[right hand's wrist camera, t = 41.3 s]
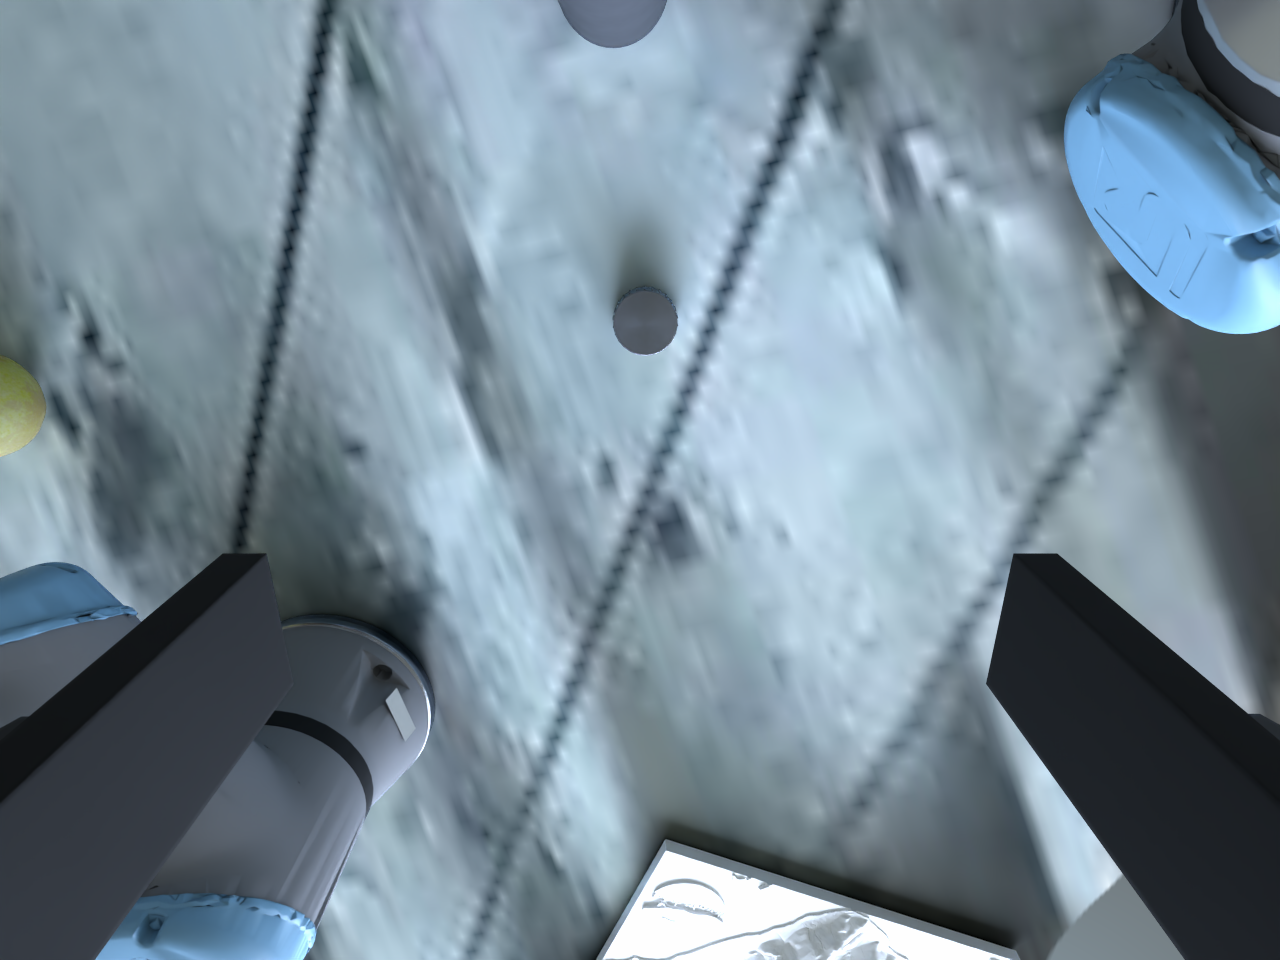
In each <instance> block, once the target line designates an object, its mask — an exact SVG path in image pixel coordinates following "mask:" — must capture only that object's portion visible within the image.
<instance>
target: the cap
mask: <svg viewBox="0 0 1280 960" xmlns="http://www.w3.org/2000/svg"><path fill="white" fill-rule="evenodd" d="M675 311H676V308H675V306H673V304H672V300H671V299H669V298H668V297H667V294H664V293H663V292H661V291H660V290H657V289H654V288H653V287H651V288H650V287H645V286H644V287H640V288H638V287H636V289H634V290H629V292H628V293H627V294H625V295H623V297H622V299H621V300H620V301H618V305H617V307H616V308H615V311H614V312H615V315H614V316H613V320H614V321H613V328H614V331H615V335H616V337H617V339H618V341H619V342H620V343H621V345H622V346H623V347H624V348H626V349H627V350H629V351H630V352H632V353H635V354H638V355H653V354H656V353H659V352H660V351H662V350H664V349H665V348H666V347H667V346H668V345H669V344H670V343H671V342H672V340H673V338H674V336H675V334H676V331H677V326H678V324H677V318H678V316H677V314H676V312H675Z"/></svg>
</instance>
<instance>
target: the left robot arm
mask: <svg viewBox="0 0 1280 960" xmlns="http://www.w3.org/2000/svg"><path fill="white" fill-rule="evenodd" d="M1064 146H1065V154H1066V159H1067V164H1068V168H1069V172H1070V175H1071V178H1072V181H1073V184H1074V186H1075V189H1076V192H1077V194H1078V196H1079V198H1080V201H1081V202H1082V204H1083V206H1084V208H1085V210H1086V212H1087V215H1088V217H1089V218H1090V220H1091V222H1092V224H1093V226H1094V227H1095V229H1096V230H1097V232H1098V233H1099V235H1100V237H1101V238H1102V240H1103V241H1104V242H1105V244H1106V245H1107V246H1108V248H1109V249H1110V251H1111V252H1112V253H1113V255H1114V256H1115V257H1116V259H1117V260H1118V261H1119V262H1120V264H1121V265H1122V266H1123V267H1124V268H1125V269H1126V271H1127V272H1128V273H1129V274H1130V275H1131V276H1132V277H1133V278H1134V279H1135V280H1136V281H1137V282H1138V283H1139V284H1140V285H1141V286H1142V287H1143V288H1144V289H1145V290H1146V291H1147V292H1148V293H1150V294H1151V295H1152V296H1153V297H1154V298H1155V299H1157V300H1158V301H1159V302H1161V303H1162V304H1163V305H1164V306H1166V307H1167V308H1168V309H1170V310H1172V311H1173V312H1175V313H1176V314H1178V315H1180V316H1181V317H1183V318H1186V319H1189V320H1191V321H1193V322H1194V323H1196V324H1198V325H1200V326H1202V327H1205V328H1208V329H1211V330H1215V331H1219V332H1224V333H1232V334H1247V333H1255V332H1260V331H1264V330H1268V329H1270V328H1273V327H1276V326H1278V325H1280V0H1175V4H1174V8H1173V13H1172V18H1171V20H1170V21H1169V22H1168V24H1167V25H1166V26H1165V27H1164V29H1163V30H1162V31H1161V32H1160V33H1159V34H1158V35H1157V36H1156V37H1155V38H1153V39H1152V40H1151V41H1150V42H1149V43H1147V44H1146V45H1144V46H1143V47H1141V48H1140V49H1138V50H1137V51H1135V52H1134V53H1132V54H1120V55H1118V56H1116V57H1115V58H1113V59H1111V60H1110V61H1108V63H1107V65H1106V67H1105V68H1104V70H1103V71H1102V72H1100V73H1099V74H1098V75H1097V76H1095V77H1094V78H1093V79H1092V80H1090V81H1089V82H1088V83H1086V84H1085V85H1084V86H1083V87H1082V88H1081V89H1080V90H1079V92H1078V93H1077V94H1076V96H1075V97H1074V99H1073V100H1072V102H1071V104H1070V106H1069V109H1068V112H1067V116H1066V120H1065V128H1064Z"/></svg>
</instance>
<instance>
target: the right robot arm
mask: <svg viewBox="0 0 1280 960" xmlns="http://www.w3.org/2000/svg"><path fill="white" fill-rule="evenodd" d="M137 614H138V613H137V612H136V611H135V610H134V609H133V608H131V607H129V606H124V605H123V604H122V603H120V602H119V601H118V600H117V599H116V598H115V597H114V596H113V595H112V594H111V593H110V592H109V591H108V590H107V589H106V588H104V587H103V586H102V585H101V584H100V583H99V582H98V581H97V580H96V579H95V578H94V577H93V576H92V575H91V574H90V573H88V572H87V571H86V570H84V569H83V568H81V567H79V566H76V565H73V564H69V563H61V562H50V563H43V564H38V565H35V566H31V567H28V568H26V569H23V570H20V571H17V572H15V573H12V574H10V575H7V576H5V577H2V578H0V960H303V958H304V957H305V955H306V954H307V953H308V952H309V950H310V949H311V947H312V946H313V943H314V941H315V936H316V933H317V932H316V930H317V927H318V925H319V923H320V921H321V918H322V916H323V914H324V911H325V909H326V907H327V905H328V902H329V900H330V898H331V896H332V893H333V891H334V889H335V887H336V884H337V882H338V880H339V878H340V875H341V873H342V871H343V868H344V866H345V864H346V862H347V859H348V857H349V855H350V853H351V850H352V848H353V846H354V844H355V841H356V839H357V837H358V835H359V832H360V830H361V828H362V825H363V823H364V820H365V818H366V816H367V814H368V812H369V810H370V807H371V806H372V805H373V804H374V803H375V802H376V801H377V800H378V799H379V798H380V797H381V796H382V795H383V794H384V793H385V792H386V791H387V790H388V789H389V788H390V787H391V786H392V785H393V784H394V783H395V782H396V781H397V779H398V778H399V777H400V776H401V775H402V774H404V773H405V772H406V771H407V770H408V769H409V768H410V767H411V765H412V764H413V763H414V761H415V760H416V759H417V757H418V756H419V755H420V753H421V751H422V749H423V748H424V745H425V743H426V740H427V738H428V735H429V733H430V730H431V728H432V724H433V721H434V714H435V701H434V694H433V690H432V687H431V684H430V681H429V679H428V677H427V674H426V673H425V671H424V669H423V668H422V666H421V664H420V663H419V662H418V660H417V659H416V658H415V657H414V656H413V654H412V653H411V652H410V651H409V650H408V649H407V648H406V647H405V646H404V645H402V644H401V643H400V642H399V641H397V640H396V639H395V638H393V637H392V636H390V635H389V634H387V633H386V632H384V631H382V630H380V629H378V628H376V627H374V626H372V625H370V624H367V623H364V622H362V621H359V620H355V619H352V618H348V617H343V616H336V615H323V614H316V615H305V616H298V617H294V618H290V619H287V620H284V621H281V620H280V616H279V611H278V606H277V601H276V597H275V592H274V587H273V582H272V578H271V573H270V568H269V563H268V559H267V554H222V555H221V556H219V557H218V558H217V559H216V560H215V561H213V562H212V563H211V564H210V565H209V566H207V567H206V568H205V569H204V570H203V571H202V572H200V573H199V574H198V575H197V576H196V577H194V578H193V579H192V580H191V581H190V582H188V583H187V584H186V585H185V586H184V587H182V588H181V589H180V590H179V591H178V592H177V593H175V594H174V595H173V596H172V597H171V598H169V599H168V600H167V601H166V602H165V603H163V604H162V605H161V606H160V607H159V608H157V609H156V610H155V611H154V612H153V613H152V614H150V615H149V616H148V617H147V618H146V619H144V620H143V621H142V622H141V621H140V620H139V619H138V618H137V617H136V615H137ZM986 684H987V686H988V687H989V688H990V690H991V691H992V693H993V694H994V695H995V697H996V698H997V700H998V701H999V702H1000V704H1001V705H1002V707H1003V708H1004V709H1005V711H1006V712H1007V713H1008V715H1009V716H1010V718H1011V719H1012V720H1013V722H1014V723H1015V725H1016V726H1017V727H1018V729H1019V730H1020V731H1021V733H1022V734H1023V736H1024V737H1025V738H1026V740H1027V741H1028V743H1029V744H1030V745H1031V747H1032V748H1033V750H1034V751H1035V752H1036V754H1037V755H1038V756H1039V758H1040V759H1041V761H1042V762H1043V763H1044V765H1045V766H1046V768H1047V769H1048V770H1049V772H1050V773H1051V775H1052V776H1053V777H1054V779H1055V780H1056V781H1057V783H1058V784H1059V786H1060V787H1061V788H1062V790H1063V791H1064V793H1065V794H1066V795H1067V797H1068V798H1069V800H1070V801H1071V802H1072V804H1073V805H1074V806H1075V808H1076V809H1077V811H1078V812H1079V813H1080V815H1081V816H1082V818H1083V819H1084V820H1085V822H1086V823H1087V824H1088V826H1089V827H1090V829H1091V830H1092V831H1093V833H1094V834H1095V836H1096V837H1097V838H1098V840H1099V841H1100V843H1101V844H1102V845H1103V847H1104V848H1105V849H1106V851H1107V852H1108V854H1109V855H1110V856H1111V858H1112V859H1113V861H1114V862H1115V863H1116V865H1117V866H1118V868H1119V869H1120V870H1121V872H1122V873H1123V874H1124V876H1125V877H1126V879H1127V880H1128V881H1129V883H1130V884H1131V886H1132V887H1133V888H1134V890H1135V891H1136V892H1137V894H1138V895H1139V897H1140V898H1141V899H1142V901H1143V902H1144V903H1145V905H1146V906H1147V908H1148V909H1149V910H1150V912H1151V913H1152V915H1153V916H1154V917H1155V919H1156V920H1157V922H1158V923H1159V924H1160V926H1161V927H1162V929H1163V930H1164V931H1165V933H1166V934H1167V936H1168V937H1169V938H1170V940H1171V941H1172V942H1173V944H1174V945H1175V947H1176V948H1177V949H1178V951H1179V952H1180V954H1181V955H1182V956H1183V958H1184V959H1185V960H1280V725H1279V724H1277V723H1275V722H1273V721H1272V720H1270V719H1268V718H1266V717H1264V716H1263V715H1261V714H1248V713H1246V712H1245V711H1244V710H1243V709H1242V708H1240V707H1239V706H1238V705H1237V704H1236V703H1235V702H1233V701H1232V700H1231V699H1230V698H1229V697H1227V696H1226V695H1225V694H1224V693H1223V692H1221V691H1220V690H1219V689H1218V688H1217V687H1215V686H1214V685H1213V684H1212V683H1211V682H1209V681H1208V680H1207V679H1206V678H1205V677H1204V676H1202V675H1201V674H1200V673H1199V672H1198V671H1196V670H1195V669H1194V668H1193V667H1192V666H1190V665H1189V664H1188V663H1187V662H1186V661H1184V660H1183V659H1182V658H1181V657H1180V656H1179V655H1177V654H1176V653H1175V652H1174V651H1173V650H1171V649H1170V648H1169V647H1168V646H1167V645H1165V644H1164V643H1163V642H1162V641H1161V640H1159V639H1158V638H1157V637H1156V636H1155V635H1154V634H1152V633H1151V632H1150V631H1149V630H1148V629H1146V628H1145V627H1144V626H1143V625H1142V624H1140V623H1139V622H1138V621H1137V620H1136V619H1134V618H1133V617H1132V616H1131V615H1130V614H1128V613H1127V612H1126V611H1125V610H1124V609H1123V608H1121V607H1120V606H1119V605H1118V604H1117V603H1115V602H1114V601H1113V600H1112V599H1111V598H1109V597H1108V596H1107V595H1106V594H1105V593H1103V592H1102V591H1101V590H1100V589H1099V588H1098V587H1096V586H1095V585H1094V584H1093V583H1092V582H1090V581H1089V580H1088V579H1087V578H1086V577H1084V576H1083V575H1082V574H1081V573H1080V572H1078V571H1077V570H1076V569H1075V568H1074V567H1073V566H1071V565H1070V564H1069V563H1068V562H1067V561H1065V560H1064V559H1063V558H1062V557H1061V556H1059V555H1058V554H1013V559H1012V563H1011V568H1010V573H1009V578H1008V582H1007V587H1006V592H1005V597H1004V601H1003V606H1002V611H1001V616H1000V620H999V625H998V630H997V635H996V639H995V644H994V649H993V654H992V658H991V663H990V668H989V673H988V678H987V682H986Z"/></svg>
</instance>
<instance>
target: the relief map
mask: <svg viewBox="0 0 1280 960" xmlns="http://www.w3.org/2000/svg"><path fill="white" fill-rule="evenodd" d="M596 960H1020V958H1019V956H1018V954H1017V952H1016V951H1015V950H1012V949H1009V948H1006V947H1003V946H1000V945H997V944H993V943H990V942H987V941H984V940H981V939H978V938H975V937H971V936H968V935H965V934H962V933H959V932H956V931H953V930H949V929H946V928H943V927H940V926H937V925H934V924H931V923H928V922H924V921H921V920H918V919H915V918H912V917H909V916H906V915H902V914H899V913H896V912H893V911H890V910H887V909H884V908H880V907H877V906H874V905H871V904H868V903H865V902H862V901H859V900H855V899H852V898H849V897H846V896H843V895H840V894H837V893H833V892H830V891H827V890H824V889H821V888H818V887H815V886H811V885H808V884H805V883H802V882H799V881H796V880H793V879H789V878H786V877H783V876H780V875H777V874H774V873H771V872H768V871H764V870H761V869H758V868H755V867H752V866H749V865H746V864H742V863H739V862H736V861H733V860H730V859H727V858H724V857H720V856H717V855H714V854H711V853H708V852H705V851H702V850H699V849H695V848H692V847H689V846H686V845H683V844H680V843H677V842H673V841H670V840H667V839H665V841H664V842H663V844H662V846H661V848H660V849H659V851H658V853H657V855H656V856H655V858H654V860H653V862H652V863H651V865H650V867H649V869H648V870H647V872H646V874H645V875H644V877H643V879H642V881H641V882H640V884H639V886H638V888H637V889H636V891H635V893H634V895H633V896H632V898H631V900H630V901H629V903H628V905H627V907H626V908H625V910H624V912H623V914H622V915H621V917H620V919H619V921H618V922H617V924H616V926H615V927H614V929H613V931H612V933H611V934H610V936H609V938H608V940H607V941H606V943H605V945H604V947H603V948H602V950H601V952H600V953H599V955H598V957H597V959H596Z"/></svg>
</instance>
